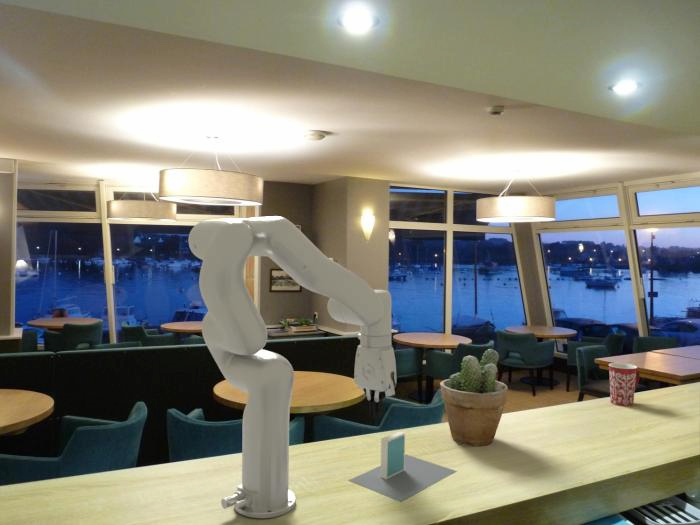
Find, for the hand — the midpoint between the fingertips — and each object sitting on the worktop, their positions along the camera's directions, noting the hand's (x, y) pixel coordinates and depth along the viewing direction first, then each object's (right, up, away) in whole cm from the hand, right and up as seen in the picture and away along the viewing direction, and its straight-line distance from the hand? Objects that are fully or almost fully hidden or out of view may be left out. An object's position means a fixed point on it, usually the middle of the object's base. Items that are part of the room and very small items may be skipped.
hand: (376, 416), depth 132 cm
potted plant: (+28, -13, +21) cm, 37 cm away
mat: (+6, -13, -5) cm, 15 cm away
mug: (+91, -13, +61) cm, 110 cm away
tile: (+4, -12, -4) cm, 14 cm away
